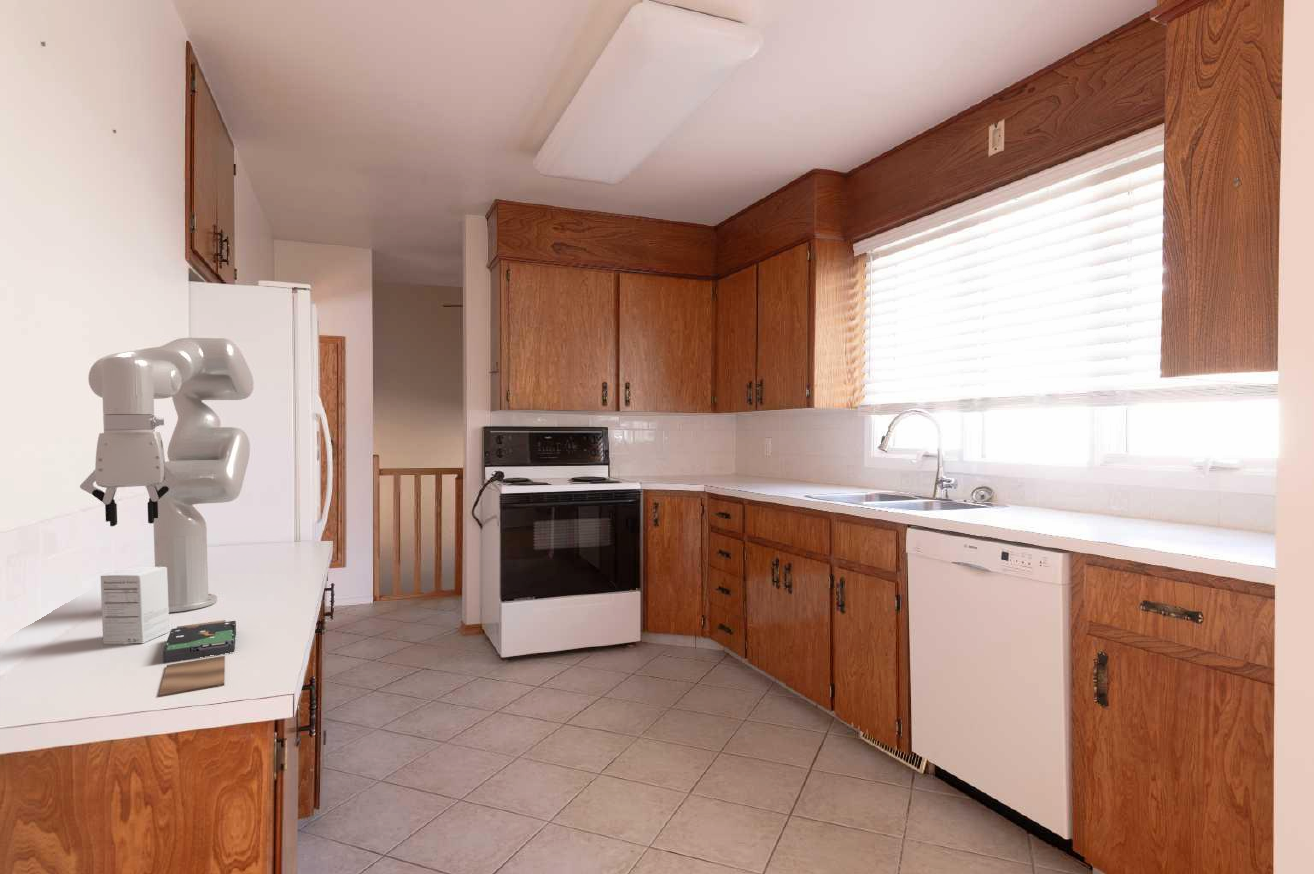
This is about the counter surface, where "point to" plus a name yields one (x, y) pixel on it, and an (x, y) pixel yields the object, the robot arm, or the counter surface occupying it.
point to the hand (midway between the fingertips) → (132, 522)
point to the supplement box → (134, 605)
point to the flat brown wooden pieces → (193, 673)
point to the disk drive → (200, 641)
